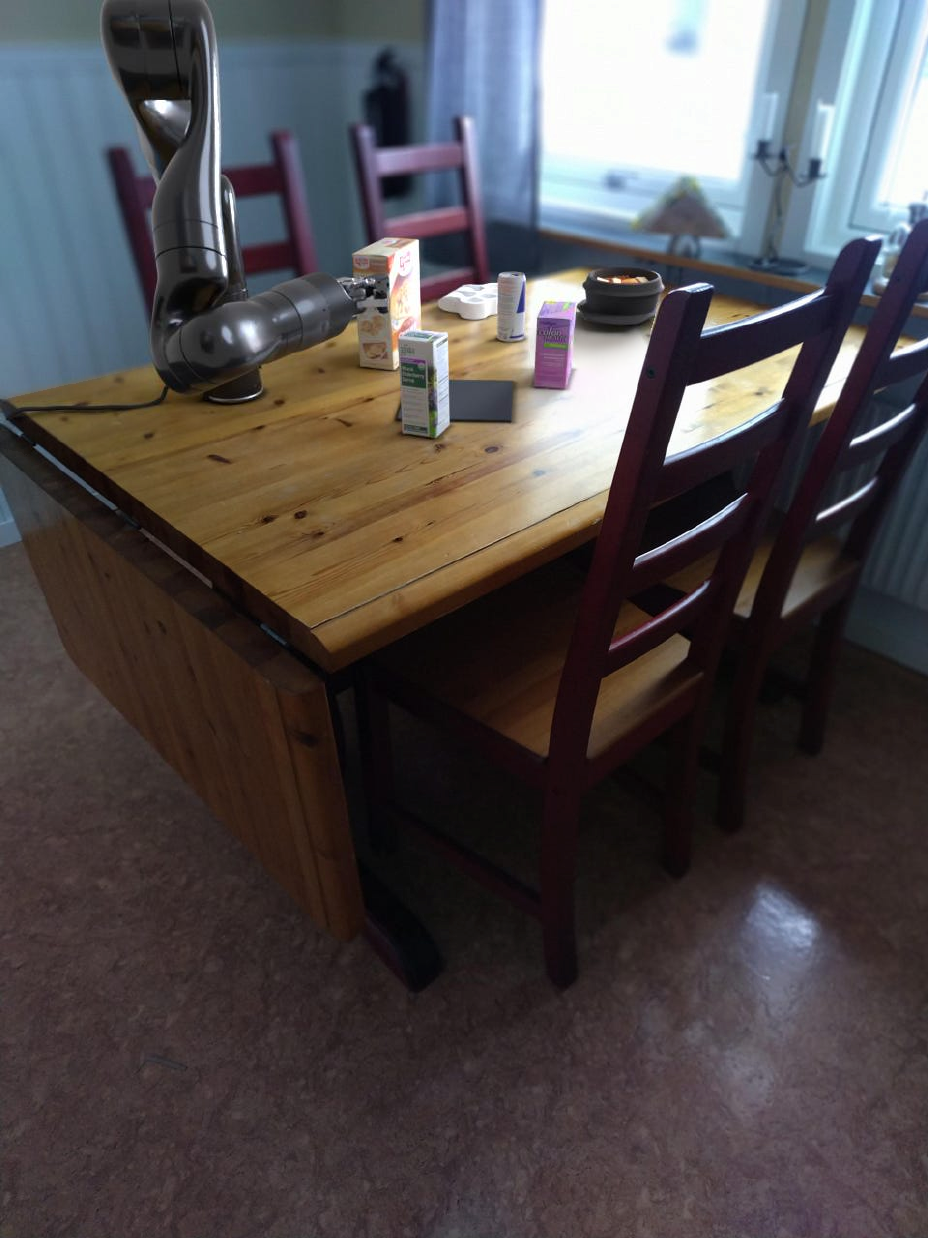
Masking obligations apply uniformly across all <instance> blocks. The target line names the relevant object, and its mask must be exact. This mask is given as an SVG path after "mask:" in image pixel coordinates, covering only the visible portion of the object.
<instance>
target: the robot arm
mask: <svg viewBox="0 0 928 1238" xmlns="http://www.w3.org/2000/svg"><path fill="white" fill-rule="evenodd" d="M99 28H100V30H99V31H100V38H101V44H102V48H103V52H104V56H105V58H106V62H107V65H108V68H109V72H110V73H111V76H112V78H113V81H114V84H115V86H116V87H117V89H118V92H119V93H120V95H121V97H122V99H123V101H124V103H125V105H126V107H127V109H128V111H129V113H130V115H131V118H132V120H133V124H134V127H135V130H136V134H137V138H138V141H139V145H140V149H141V150H142V154H143V156H144V160H145V162H146V165H147V167H148V169H149V171H150V173H151V176H152V179H153V181H154V184H155V186H156V189H155V193H154V196H153V199H152V204H151V214H150V215H151V216H150V217H151V218H150V219H151V230H152V231H151V233H152V241H153V249H154V251H153V252H154V259H155V265H156V267H155V268H156V273H157V279H156V280H157V282H156V287H155V292H154V296H153V305H152V313H151V314H152V315H151V322H150V332H149V349H150V355H151V359H152V363H153V366H154V369H155V371H156V373H157V375H158V376H159V379H160V380H161V381H162V383H163V384H164V386H163V388H162V392H161V394H160V396H159V397H157V398H156V399H154V400H152V401H150V402H149V401H148V402H146V403H141V404H105V405H103V404H102V405H51V406H50V405H47V406H22V407H18V408H15V409H13V410H12V411H11V412H10V413H8V415H7V416H6V418H5V421H11V420H13V419H14V418H15V417H16V416H18V415H19V414H22V413H25V412H54V411H55V412H56V411H78V412H79V411H80V412H81V411H84V412H87V411H89V412H90V411H91V412H92V411H94V412H97V411H111V410H112V411H113V410H114V411H115V410H119V411H120V410H121V411H123V410H124V411H125V410H134V409H140V408H146V407H153V406H156V405H158V404H161V403H162V402H164V401H165V399H166V398H167V395H168V392H169V390H171V391H172V392H174V393H176V394H179V395H182V396H186V397H187V396H196V395H200V394H202V400H203V401H211V402H214V403H217V404H239V403H245V402H250V401H253V400H255V399H257V398H259V397H261V396H262V395H263V394H264V387H263V383H262V382H263V381H262V377H261V370H262V366H264V365H267V364H268V365H269V364H271V363H273V362H276V361H278V360H281V359H283V358H285V357H287V356H290V355H292V354H296V353H301V352H304V351H307V350H309V349H312V348H313V347H315V346H318V345H321V344H323V343H325V342H328V341H330V340H331V339H333V338H336V337H338V336H340V335H341V334H342V333H344V332H345V330H346V329H347V327H348V326H349V323H350V322H351V320H352V319H353V318H355V317H357V314H362V313H364V312H365V311H366V310H367V308H370V307H374V310H375V311H379V313H382V314H386V313H388V312H389V307H388V291H389V290H390V278H389V275H388V274H384V273H376V274H373V275H370V276H368V277H365V278H363V277H356V278H354V277H349V276H346V275H343V276H338V277H334V276H333V275H331V274H329V273H327V272H323V271H314V272H310V273H308V274H303V275H302V276H298V277H296V278H293V279H290V280H287V281H283V282H280V283H278V284H276V285H274V286H272V287H270V288H269V289H267V290H265V291H264V292H260V293H257V294H254V295H251V296H249V290H248V284H247V277H246V272H245V267H244V260H243V253H242V246H241V235H240V227H239V226H240V225H239V216H238V205H237V199H236V194H235V190H234V188H233V185H232V182H231V180H230V178H229V177H228V176H226V175H225V174H222V161H223V160H222V157H223V156H222V155H223V134H222V133H223V126H222V80H221V63H220V62H221V61H220V54H219V53H220V52H219V45H218V44H219V43H218V37H217V32H216V26H215V22H214V19H213V15H212V12H211V9H210V8H209V6H208V4H207V3H206V1H205V0H104V1H103V3H102V6H101V9H100V15H99Z"/></svg>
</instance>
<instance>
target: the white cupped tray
mask: <svg viewBox="0 0 928 1238" xmlns="http://www.w3.org/2000/svg"><path fill="white" fill-rule="evenodd" d="M497 294H498V282H491V283H485V284H463V285H462V286H460V287H458V288H457V289H455V290H453V291H451V292H449V293H448V294H447V295H444V296H442V297H441V298H439V299H437V306H438V308H439V309H440V310H442V311H445V312H448V313H454V314H459V315H460V317H461V318H463V319H466V320H472V321H473V320H475V321H476V320H485V319H486V318H487V317H489V316H495V315H496V316H497Z"/></svg>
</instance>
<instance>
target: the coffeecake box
mask: <svg viewBox="0 0 928 1238" xmlns="http://www.w3.org/2000/svg"><path fill="white" fill-rule="evenodd" d="M419 241H420V240H419V239H416V238H403V237H387V236H386V237H383V238H381V239H380V240H377V241H376V242H374V243H371V244H370V245H367V246H365V247H363V248H361V249H360V250H358V251H355V252H353V253H351V258H352V259H351V260H352V271H353V274H352V275H353V278H356V277H363V278H365V277H368V276H370V275H373V274H376V273H384V274H388V275H389V278H390V290H389V291H388V307H389V312H388V313H386V314H382V313H379V311H375V310H374V307H370V308H367V310H366V311H365V312H364V313H362V314H357V316H356V325H357V339H358V352H359V367H361V368H371V369H377V370H378V369H379V370H385V371H386V370H387V371H395V370H396V369H397V368H399V352H398V339H399V338H400V337H401V336H402V335H403V334H405V333H406V332H408V331H410V330H413V329H416V330H422V314H421V284H420V283H421V282H420V280H421V279H420V251H419V250H420V249H419V248H420V247H419V243H420V242H419Z"/></svg>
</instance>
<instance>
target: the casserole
mask: <svg viewBox="0 0 928 1238" xmlns="http://www.w3.org/2000/svg"><path fill="white" fill-rule="evenodd" d="M581 287H582V289H583V290H584V292H585V298H584V299H582V300H580V301H579V302H578V303H577V305H576V310H578V311H579V312H580V313H581V314H582V318H583V319H584V320H586V321H589V322H592V323H596V324H602V325H603V324H605V325H615V326H632V325H633V326H634V325H639V324H641V323H643V322H645V321H647V320H650V319H654V318H656V317H655V313H656V309H657V306H658V304H659V302H660V297H661V293H662V292H663V291H664V290H665V288H666V286H665V284H664V283H663V281H662V276H661V274H659V273H657V272H656V271H653V270H651V269H645V268H639V267H630V266H629V267H628V266H614V267H613V266H612V267H604V268H598V269H595V270H592V271H590V272H588V274H587V276H586V278H585V280H584V281H583V282H582V284H581Z"/></svg>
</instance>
